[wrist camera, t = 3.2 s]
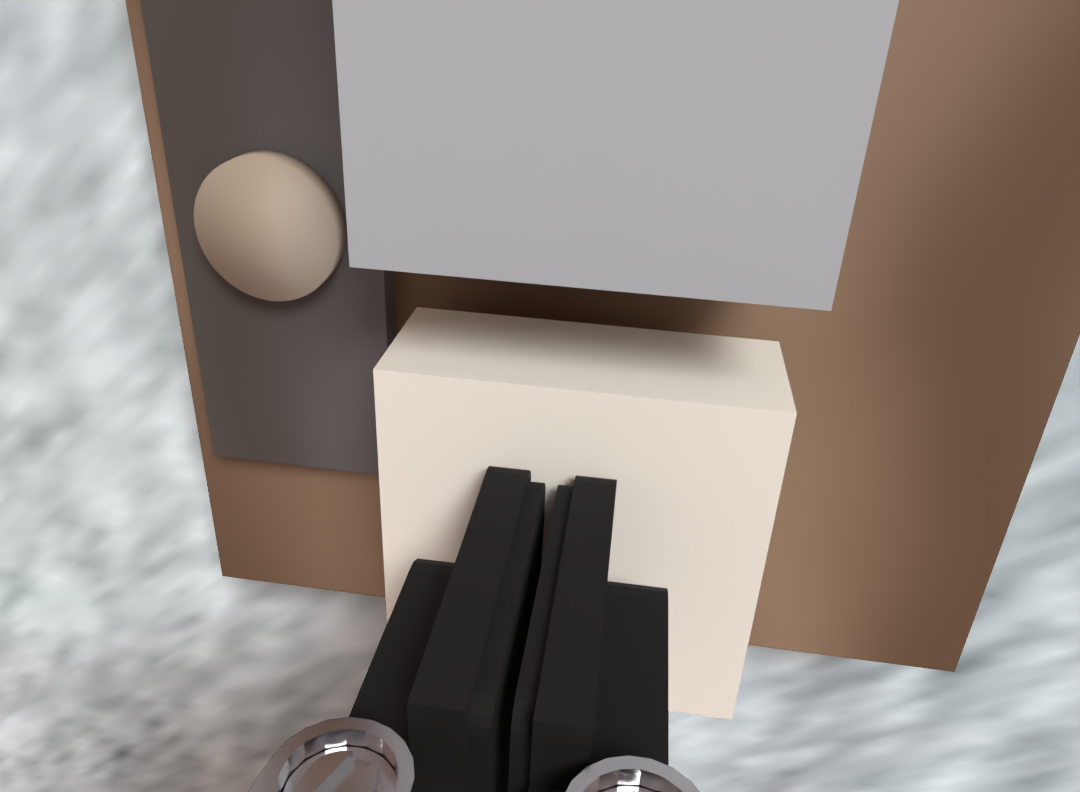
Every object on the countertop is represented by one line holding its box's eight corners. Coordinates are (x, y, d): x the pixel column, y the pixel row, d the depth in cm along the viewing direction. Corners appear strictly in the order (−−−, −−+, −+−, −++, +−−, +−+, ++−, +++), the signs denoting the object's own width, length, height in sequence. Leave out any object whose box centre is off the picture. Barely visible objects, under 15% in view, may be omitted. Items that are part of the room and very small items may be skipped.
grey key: (907, -268, 8) (970, -325, 6) (805, 247, 10) (830, 311, 9) (385, -281, 9) (310, -336, 7) (402, 213, 11) (349, 267, 9)
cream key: (779, 341, 12) (797, 413, 10) (725, 622, 14) (732, 720, 12) (416, 306, 12) (373, 369, 10) (424, 583, 15) (389, 672, 13)
